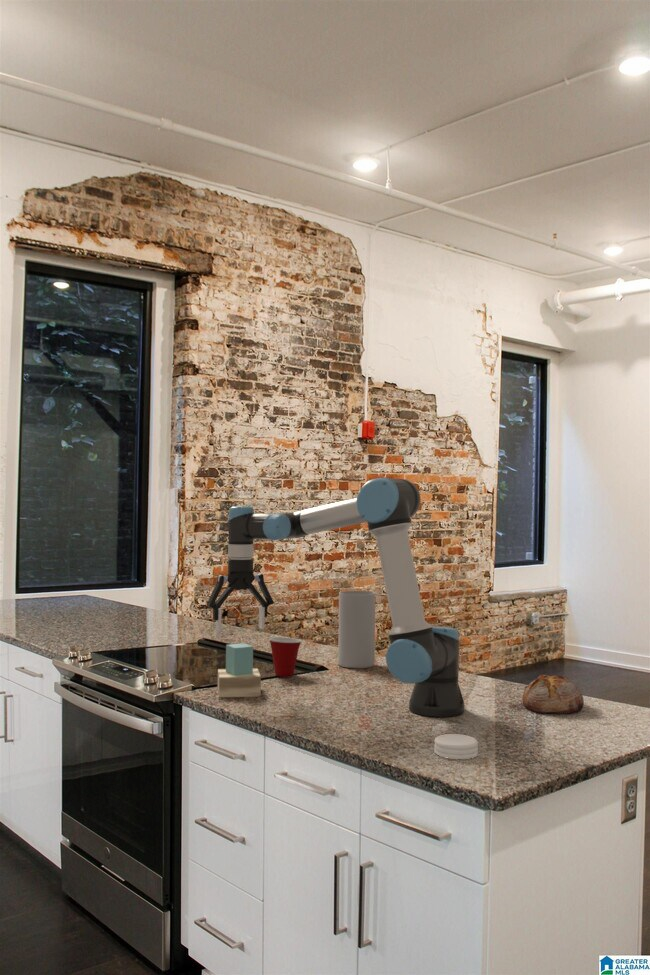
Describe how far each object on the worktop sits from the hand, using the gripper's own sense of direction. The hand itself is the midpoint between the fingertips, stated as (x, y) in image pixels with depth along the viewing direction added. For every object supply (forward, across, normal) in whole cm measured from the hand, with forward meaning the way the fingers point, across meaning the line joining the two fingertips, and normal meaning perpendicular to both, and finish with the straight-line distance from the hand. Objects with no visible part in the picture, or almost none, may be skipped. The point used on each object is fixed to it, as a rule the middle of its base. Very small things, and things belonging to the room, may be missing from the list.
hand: (240, 630), depth 260 cm
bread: (+20, -74, +52) cm, 93 cm away
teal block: (+13, 0, 0) cm, 13 cm away
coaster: (+20, -24, +77) cm, 83 cm away
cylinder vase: (+19, -51, -21) cm, 58 cm away
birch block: (+19, 0, 0) cm, 19 cm away
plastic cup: (+18, -22, -16) cm, 33 cm away
